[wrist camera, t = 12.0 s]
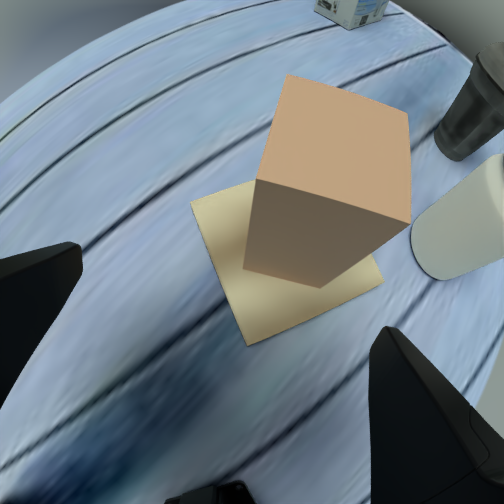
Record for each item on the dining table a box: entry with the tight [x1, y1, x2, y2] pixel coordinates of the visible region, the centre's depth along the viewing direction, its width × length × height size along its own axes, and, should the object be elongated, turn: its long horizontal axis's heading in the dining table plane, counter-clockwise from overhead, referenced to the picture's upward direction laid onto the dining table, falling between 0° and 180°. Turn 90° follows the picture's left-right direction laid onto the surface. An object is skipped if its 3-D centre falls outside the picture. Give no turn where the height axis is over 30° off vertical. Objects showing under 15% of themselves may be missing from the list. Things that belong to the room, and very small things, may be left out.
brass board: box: [190, 179, 384, 346], centre depth 23 cm, size 11×11×1 cm
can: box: [411, 154, 504, 280], centre depth 18 cm, size 6×6×12 cm
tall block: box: [243, 74, 411, 289], centre depth 16 cm, size 6×6×12 cm
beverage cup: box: [434, 42, 504, 161], centre depth 18 cm, size 7×7×20 cm
